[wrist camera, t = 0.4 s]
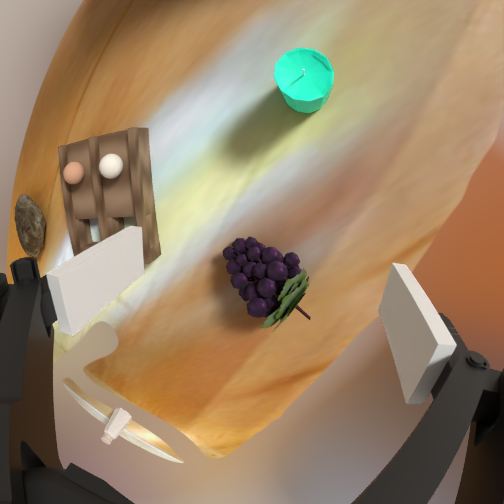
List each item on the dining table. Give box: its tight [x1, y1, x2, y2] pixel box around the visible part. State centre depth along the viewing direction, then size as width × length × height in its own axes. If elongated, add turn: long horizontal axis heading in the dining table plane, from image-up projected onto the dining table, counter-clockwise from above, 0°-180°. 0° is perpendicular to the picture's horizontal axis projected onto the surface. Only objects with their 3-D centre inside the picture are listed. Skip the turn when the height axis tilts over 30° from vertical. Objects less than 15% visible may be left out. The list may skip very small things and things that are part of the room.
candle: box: [274, 48, 334, 113], centre depth 29 cm, size 6×6×12 cm
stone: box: [15, 194, 46, 257], centre depth 48 cm, size 13×8×8 cm
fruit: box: [223, 237, 311, 332], centre depth 40 cm, size 10×11×15 cm
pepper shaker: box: [101, 408, 131, 444], centre depth 62 cm, size 5×5×11 cm
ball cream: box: [99, 154, 123, 178], centre depth 38 cm, size 4×4×4 cm
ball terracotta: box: [63, 162, 84, 184], centre depth 39 cm, size 4×4×4 cm
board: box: [58, 127, 161, 264], centre depth 43 cm, size 20×16×4 cm
